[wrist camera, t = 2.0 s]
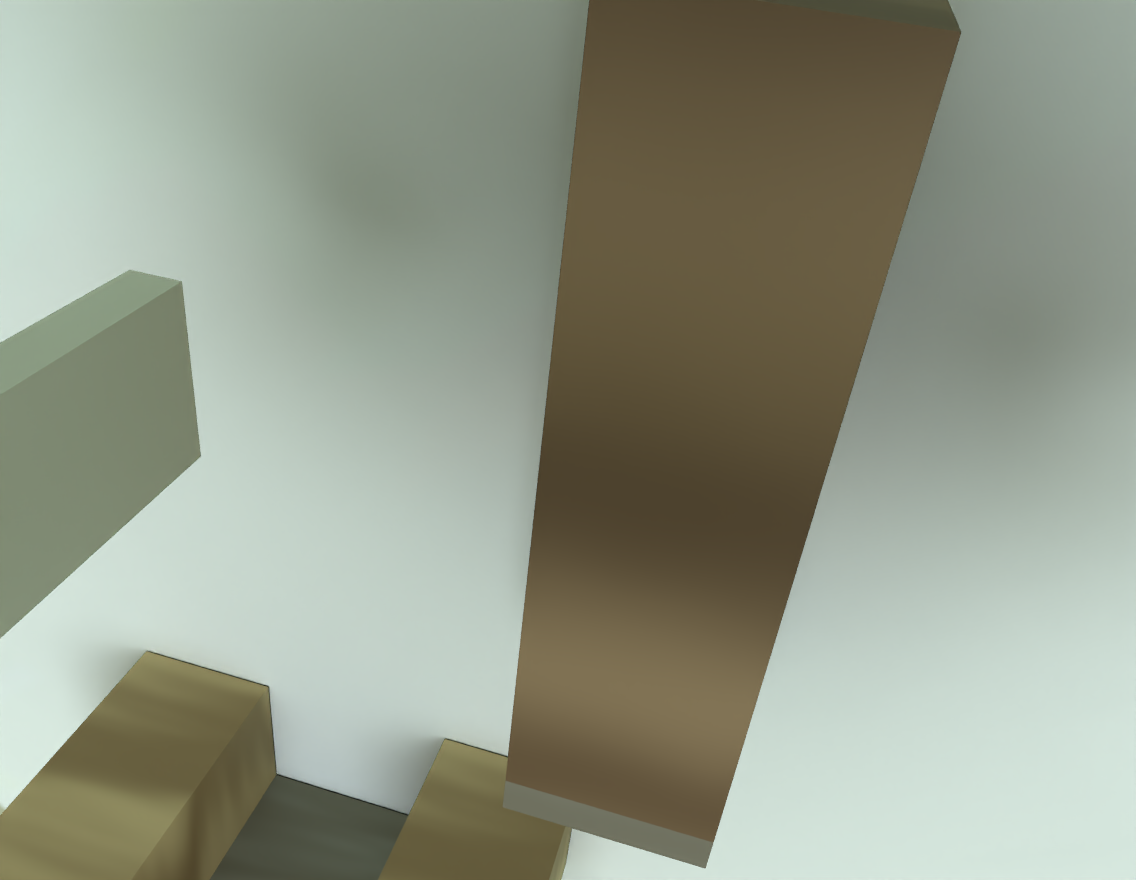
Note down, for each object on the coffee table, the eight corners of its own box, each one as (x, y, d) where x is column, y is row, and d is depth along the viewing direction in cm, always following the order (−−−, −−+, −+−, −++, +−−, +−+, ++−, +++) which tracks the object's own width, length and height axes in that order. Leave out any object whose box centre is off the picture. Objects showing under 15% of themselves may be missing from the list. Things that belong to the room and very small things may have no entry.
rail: (680, -70, 16) (592, -25, 11) (933, -33, 15) (961, 32, 10) (579, 606, 24) (502, 807, 19) (741, 649, 23) (705, 868, 18)
